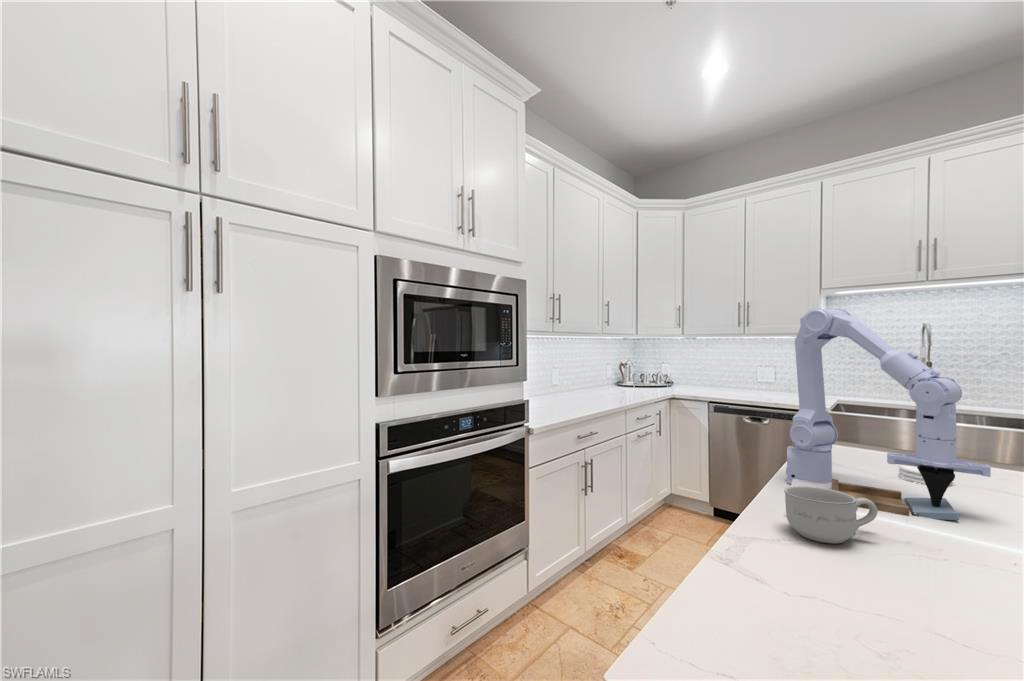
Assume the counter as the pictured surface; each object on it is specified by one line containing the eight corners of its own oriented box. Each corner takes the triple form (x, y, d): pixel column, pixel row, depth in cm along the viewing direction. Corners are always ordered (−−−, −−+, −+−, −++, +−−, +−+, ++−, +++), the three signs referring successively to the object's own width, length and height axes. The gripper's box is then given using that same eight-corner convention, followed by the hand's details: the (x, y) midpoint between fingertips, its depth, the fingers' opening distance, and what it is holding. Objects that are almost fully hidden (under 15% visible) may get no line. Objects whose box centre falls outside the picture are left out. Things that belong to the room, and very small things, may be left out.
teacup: (787, 542, 75) (787, 496, 75) (781, 519, 85) (781, 479, 85) (889, 560, 69) (889, 511, 69) (870, 534, 78) (870, 490, 78)
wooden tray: (832, 509, 90) (832, 492, 90) (831, 493, 100) (831, 478, 100) (909, 523, 83) (909, 505, 83) (900, 505, 92) (900, 489, 92)
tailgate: (911, 512, 83) (957, 513, 79) (903, 497, 92) (944, 497, 88) (912, 518, 83) (959, 520, 79) (904, 502, 91) (946, 503, 88)
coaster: (902, 473, 117) (902, 460, 117) (954, 482, 109) (954, 468, 109) (895, 480, 110) (895, 466, 110) (950, 490, 103) (950, 475, 103)
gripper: (889, 435, 86) (890, 502, 86) (995, 446, 77) (996, 521, 77) (886, 430, 92) (886, 493, 92) (984, 439, 83) (984, 509, 83)
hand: (935, 505), depth 85 cm, fingers closed, pressing on tailgate
